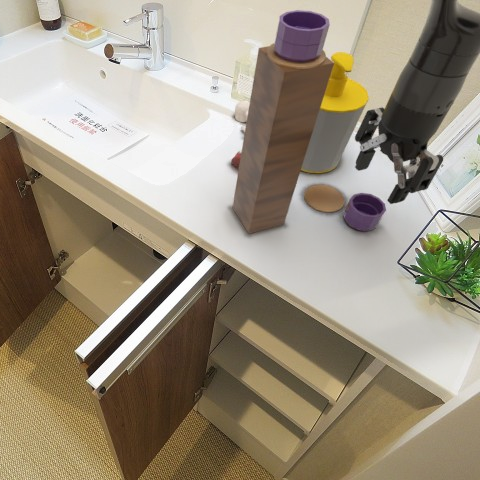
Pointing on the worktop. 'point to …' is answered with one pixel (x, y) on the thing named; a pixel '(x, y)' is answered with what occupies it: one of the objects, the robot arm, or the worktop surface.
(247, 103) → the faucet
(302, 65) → the coaster top
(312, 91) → the walnut stand
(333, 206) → the coaster back
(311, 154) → the soap bottle
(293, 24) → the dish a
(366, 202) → the purple cup
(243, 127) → the rivet
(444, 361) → the worktop surface
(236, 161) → the dental model
